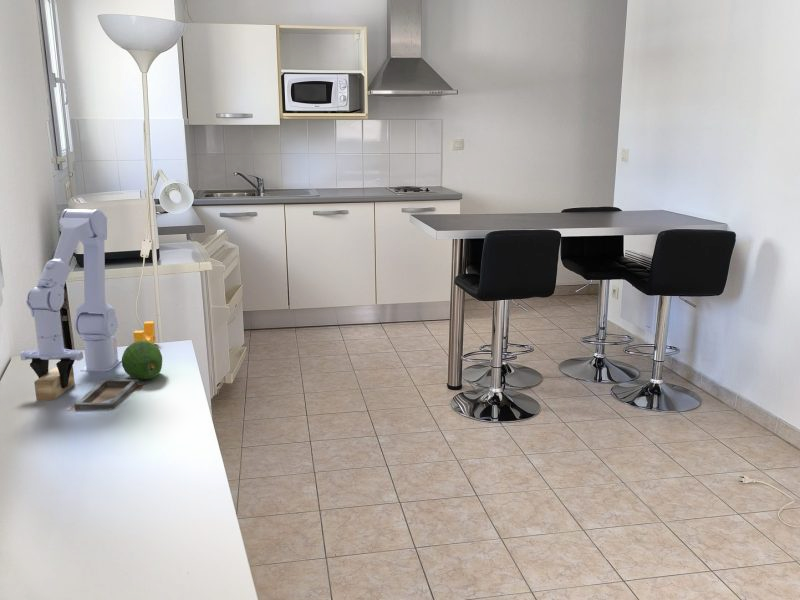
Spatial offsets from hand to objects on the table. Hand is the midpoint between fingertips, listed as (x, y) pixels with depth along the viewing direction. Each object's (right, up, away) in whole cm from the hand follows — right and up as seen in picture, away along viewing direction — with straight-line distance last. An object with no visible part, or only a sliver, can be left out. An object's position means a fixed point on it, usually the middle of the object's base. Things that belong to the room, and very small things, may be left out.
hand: (55, 386), depth 180 cm
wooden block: (0, -1, 0) cm, 2 cm away
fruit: (+19, +1, +10) cm, 21 cm away
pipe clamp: (+9, +7, +37) cm, 39 cm away
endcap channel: (+15, -3, -4) cm, 16 cm away
